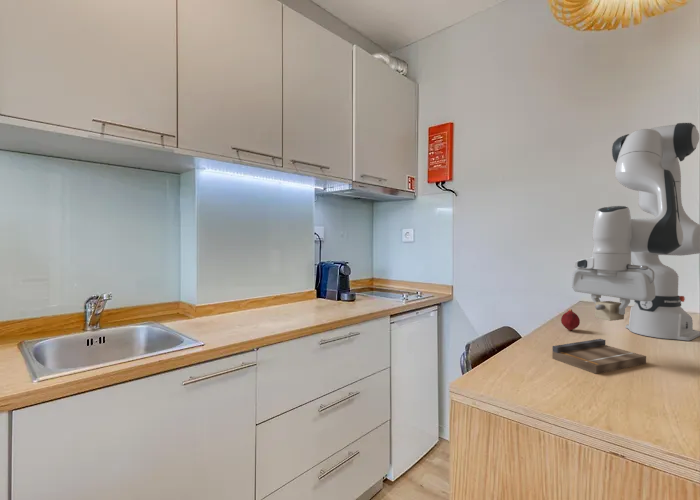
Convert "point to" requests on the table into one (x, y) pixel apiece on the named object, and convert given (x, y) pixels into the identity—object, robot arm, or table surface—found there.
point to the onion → (570, 320)
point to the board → (596, 356)
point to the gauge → (607, 310)
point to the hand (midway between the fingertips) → (609, 312)
